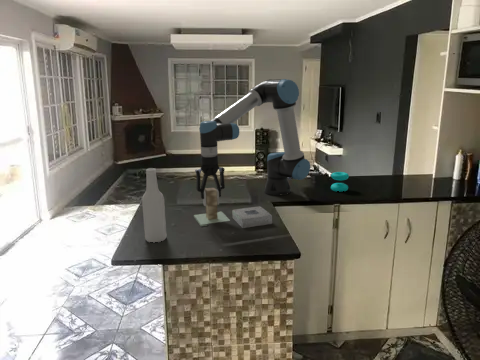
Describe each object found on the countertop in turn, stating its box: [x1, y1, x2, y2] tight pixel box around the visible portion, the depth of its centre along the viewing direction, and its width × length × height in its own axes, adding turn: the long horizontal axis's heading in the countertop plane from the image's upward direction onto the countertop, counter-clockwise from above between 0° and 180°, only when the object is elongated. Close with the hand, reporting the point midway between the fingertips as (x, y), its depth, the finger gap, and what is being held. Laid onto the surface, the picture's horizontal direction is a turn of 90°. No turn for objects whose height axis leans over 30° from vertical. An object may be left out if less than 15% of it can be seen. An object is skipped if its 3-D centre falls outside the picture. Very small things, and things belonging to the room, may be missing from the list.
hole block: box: [231, 205, 273, 229], centre depth 185 cm, size 14×14×5 cm
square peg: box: [204, 187, 218, 220], centre depth 188 cm, size 4×4×14 cm
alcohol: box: [141, 167, 168, 244], centre depth 165 cm, size 9×9×30 cm
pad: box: [193, 211, 231, 227], centre depth 190 cm, size 14×14×1 cm
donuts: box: [330, 171, 350, 193], centre depth 235 cm, size 10×10×10 cm
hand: (211, 204), depth 188 cm, fingers open, 5 cm apart
